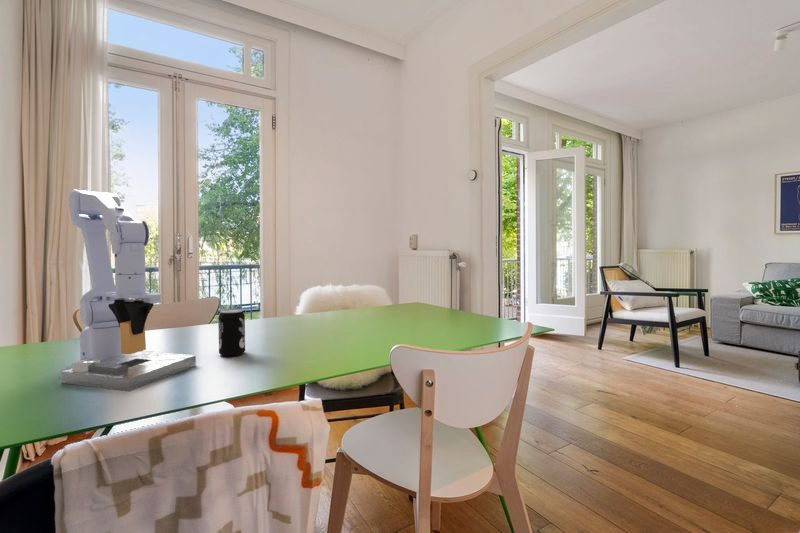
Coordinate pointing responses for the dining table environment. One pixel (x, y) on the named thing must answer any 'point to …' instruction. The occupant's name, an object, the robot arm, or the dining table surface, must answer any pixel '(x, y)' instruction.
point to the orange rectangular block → (131, 339)
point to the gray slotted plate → (127, 370)
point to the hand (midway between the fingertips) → (132, 333)
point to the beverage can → (231, 332)
